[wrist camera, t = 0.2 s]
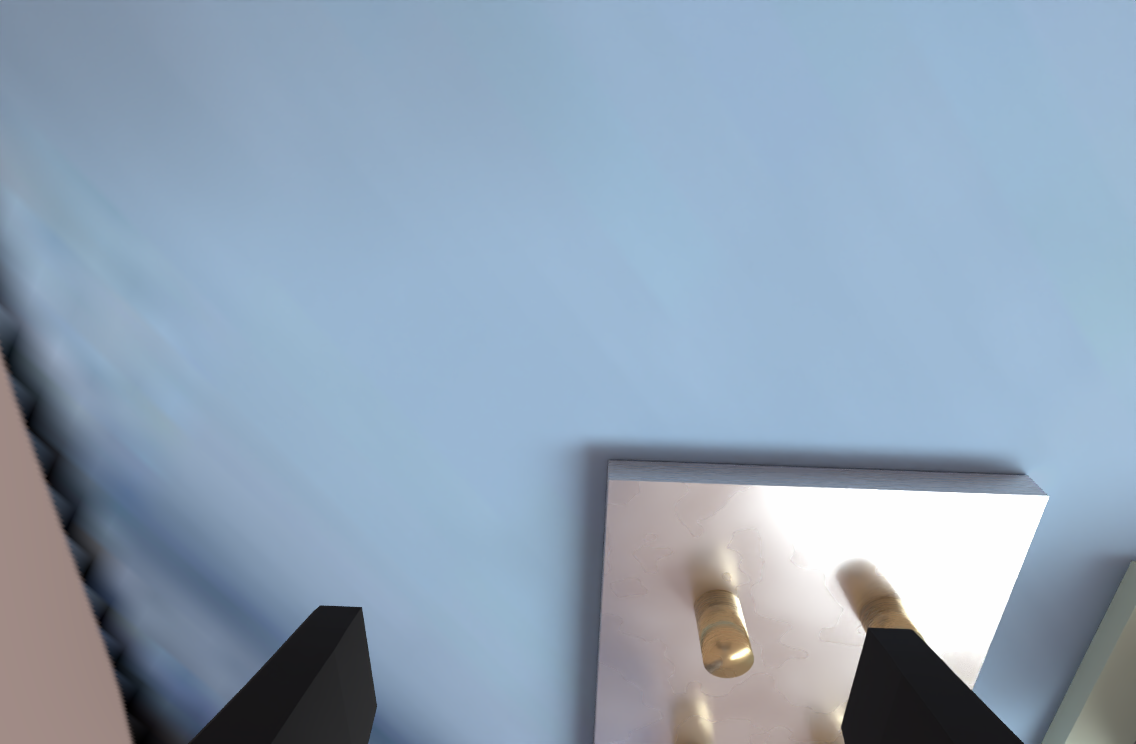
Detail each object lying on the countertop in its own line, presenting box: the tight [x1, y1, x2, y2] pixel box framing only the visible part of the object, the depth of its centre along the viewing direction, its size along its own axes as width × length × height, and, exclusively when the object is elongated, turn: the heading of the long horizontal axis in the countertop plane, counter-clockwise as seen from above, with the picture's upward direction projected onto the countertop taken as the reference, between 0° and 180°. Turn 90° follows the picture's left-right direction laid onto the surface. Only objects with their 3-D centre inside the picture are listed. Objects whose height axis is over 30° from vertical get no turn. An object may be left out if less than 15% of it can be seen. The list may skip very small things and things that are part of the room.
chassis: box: [593, 460, 1049, 744], centre depth 22 cm, size 16×12×3 cm
